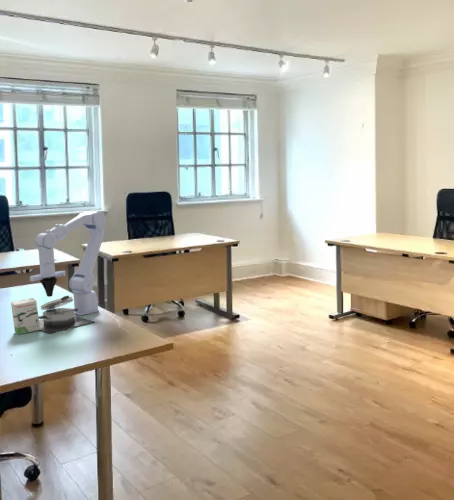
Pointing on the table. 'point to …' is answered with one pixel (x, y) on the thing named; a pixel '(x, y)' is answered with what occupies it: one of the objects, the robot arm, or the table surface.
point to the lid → (57, 303)
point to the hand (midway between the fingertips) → (49, 296)
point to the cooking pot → (61, 320)
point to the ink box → (25, 316)
